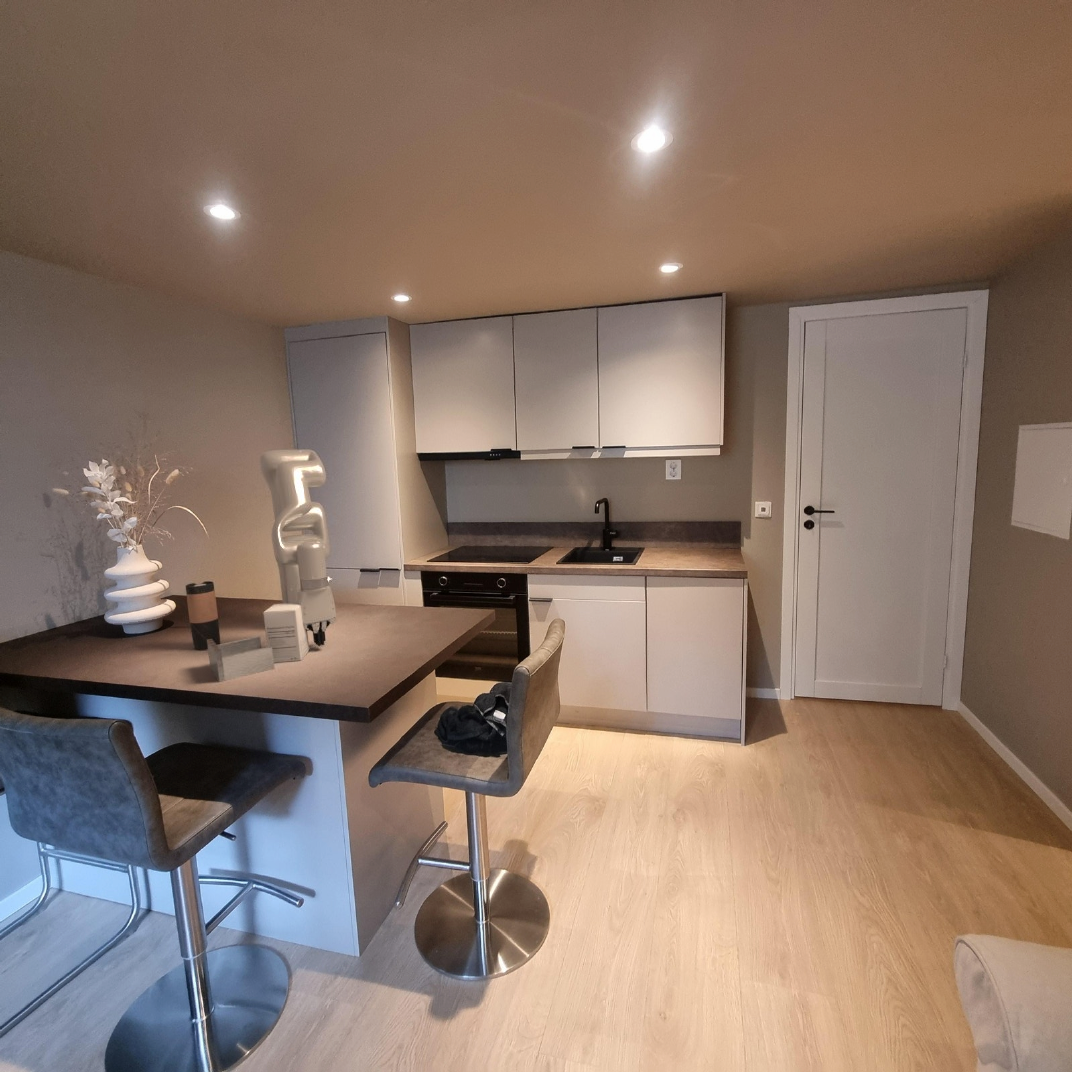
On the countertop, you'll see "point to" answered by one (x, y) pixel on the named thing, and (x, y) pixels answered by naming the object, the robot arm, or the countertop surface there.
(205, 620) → the travel mug
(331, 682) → the countertop surface
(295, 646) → the supplement box
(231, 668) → the bracket
